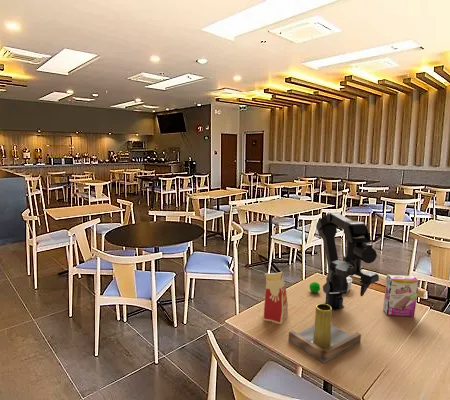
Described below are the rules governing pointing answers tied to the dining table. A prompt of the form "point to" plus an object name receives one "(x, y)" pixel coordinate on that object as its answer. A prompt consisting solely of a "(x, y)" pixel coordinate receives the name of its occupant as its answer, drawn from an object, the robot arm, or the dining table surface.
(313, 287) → the green pom pom ball
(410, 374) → the dining table surface
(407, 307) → the candy bar box
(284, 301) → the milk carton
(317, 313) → the vase
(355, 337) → the arena
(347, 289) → the ramekin
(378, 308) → the dining table surface
